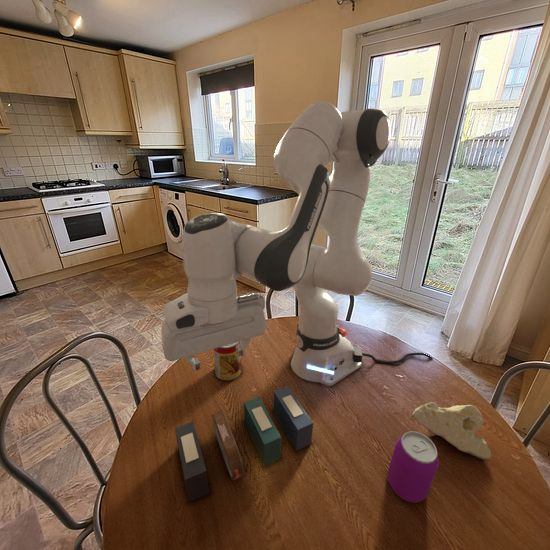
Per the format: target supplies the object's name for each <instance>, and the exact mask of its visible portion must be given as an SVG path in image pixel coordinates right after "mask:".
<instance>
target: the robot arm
mask: <svg viewBox="0 0 550 550" xmlns="http://www.w3.org/2000/svg"><path fill="white" fill-rule="evenodd" d="M391 134H392V125H391V120H390V117H389V116H388V115H387V112H386V111H385V110H382V109H380V108H379V109H378V108H366V109H358V110H357V109H356V110H346V111H341V112H340V110H339V109H338V108H337V107H336V106H335V105H334V104H332V103H331V102H328V101H326V100H325V101H324V100H317V101H313V102H312V103H310V104H309V105H308V106H307V107H306V108H304V109H303V110H302V111H301V113H300V114H299V115H298V116H296V118H295V119H294V120H293V122H292V123H291V125H290V126H289V127H288V129H287V130H286V131H285V133H284V134H283V137H282V138H281V139H280V141H279V143H278V144H277V146H276V149H275V151H274V152H275V153H274V155H273V165H274V169H275V172H276V173H277V176H278V177H279V178H280V180H281V181H282V182H283V184H284V185H285V186H286V187H288V188H289V189H290V190H292V191H293V192H295V193H297V194H298V196H297V199H296V202H295V205H294V207H293V210H292V212H291V215H290V217H289V220H288V222H287V225H286V227H285V228H284V229H282V230H279V231H273V230H268V229H265V228H261V227H258V226H255V225H250V224H246V223H241V222H237V221H234V220H232V219H230V218H229V217H228V216H227V215H226V214H224V213H220V212H219V213H218V212H209V213H202V214H199V215H196V216H194V217H192V218H191V219H189V220H188V221H187V222H186V223H185V225H184V227H183V230H182V235H181V237H182V238H181V252H182V253H181V254H182V263H183V270H184V274H185V275H186V278H187V281H188V282H187V288H186V290H187V291H186V293H183V294H182V295H180V296H179V297H177V298H175V299H173V300H171V301H168V302H167V303H165V304H164V305H163V316H164V320H163V322H162V323H161V334H160V335H161V347H162V351H163V356H164V359H165V360H167V362H175V361H179V360H181V359H185V361H186V362H187V363H188V364H190V366H191V368H192V372H196V371H199V370H201V368H202V367H201V362H200V359H199V357H195V358H194V356H195V355H198V354H201V353H205V352H208V351H211V350H212V351H213V349H215V348H219V347H222V346H225V345H229V344H232V343H235V342H239V341H240V344H239V345H237V346H236V353H237V355H238V357H239V356H241V357H242V356H245V355H246V349H247V347H248V346H249V344H250V342H251V339H252V338H255V337H258V336H262V335H263V334H264V333H265V332H266V330H267V321H266V316H265V312H264V310H265V307H266V300H265V297H264V295H262V294H258V293H255V292H254V293H251V294H249V295H242V296H238V285H237V278H239V277H241V276H243V277H246V278H248V279H251V280H254V281H256V282H258V283H259V284H261V285H262V286H264V287H266V288H268V289H270V290H272V291H274V292H282V291H286V290H288V289H290V288H291V287H292V289H293V290H294V293H295V296H296V299H297V302H298V303H297V304H298V323H297V325H296V335H295V336H296V337H295V340H296V341H295V343H296V344H295V349H294V353H293V354H292V355H293V356H292V358H291V360H290V366H291V369H292V371H293V372H294V374H296V376H298V377H299V378H300V379H303V380H305V381H307V382H313V383H320V384H321V385H325V386H329V387H331V386H333V385H336V384H337V383H338V382H340V381H341V380H343V379H344V378H346V377H347V376H348V375H350V374H352V373H353V372H355V371H357V370H358V369H360V368H361V367H362V361H363V357H368V358H371V359H372V361H373V362H376V363H381V364H387V365H388V364H391V365H392V364H399V363H401V362H403V361H404V360H405V359H406V358H408V357H411V356H424V357H427V358H428V359H430V360H433V359H434V358H433V357H432V356H431V355H430V354H428V353H426V352H409V353H406V354H403V356H402V357H401V358H400V359H396V360H382V359H378V358H375V357H374V355H372V354H370V353H364V352H362V349H361V346H359V345H353V343H352V342H351V341H350V340H349V339H348V338H346V337H347V335H348V331H347V330H345V329H344V328H340V326H339V325H338V319H339V307H338V306H339V305H338V303H337V301H336V300H335V299H334V298H333V296H331V294H329V293H328V292H331V293H335V294H338V295H341V296H352V297H357V296H360V295H362V294H363V293H364V292H365V291H366V290H367V289H368V288H369V287H370V285H371V282H372V278H373V270H372V266H371V264H370V262H369V261H368V259H367V258H366V256H365V255H364V253H363V251H362V250H361V247H360V244H359V239H358V238H359V236H358V235H359V234H358V233H359V227H360V222H361V219H362V214H363V210H364V207H365V204H366V201H367V197H368V193H369V188H370V181H371V174H372V168H371V167H373V166H374V165H375V164H376V163H377V161H378V159H380V158H381V157H382V156H383V154H384V153H385V151H386V150H387V148H388V146H389V144H390V141H391V136H392V135H391ZM329 162H330V163H333V169H332V172H331V174H330V172H329V170H328V166H327V165H328V164H329ZM318 227H319V229H320V230H321V231H322V232H323V233H324V234H325V235H327V236H328V238H329V243H328V247H325V246H322V245H317V244H314V243H313V240H314V238H315V234H316V232H317V229H318ZM424 353H425V354H424ZM426 354H427V355H426ZM428 355H429V356H428ZM430 356H431V357H430Z"/></svg>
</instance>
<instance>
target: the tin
mask: <svg viewBox="0 0 550 550" xmlns="http://www.w3.org/2000/svg"><path fill="white" fill-rule="evenodd" d="M211 418H212V421H213V428H214V429H213V430H214V433H215V435H216V439H217V442H218V445H219V448H220V452H221V454H222V457H223V461H224V464H225V467H226V469H227V472H228V475H229V477H230V480H231V481H236V480H239V479H240V478H242V477H245V476H246V475H245V468H244V463H243V459H242V457H241V454H240V450H239V447H238V444H237V441H236V439H235V437H234V434H233V432H232V429H231V426H230V424H229V422H228V419H227V416H226V413H225V412H224V409H220V410H218V411H216V412H213V413H212V414H211Z"/></svg>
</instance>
